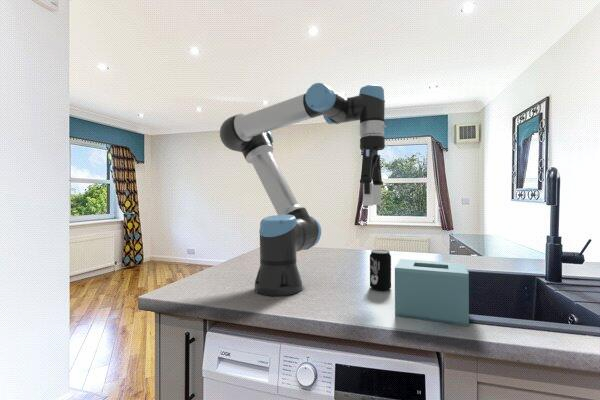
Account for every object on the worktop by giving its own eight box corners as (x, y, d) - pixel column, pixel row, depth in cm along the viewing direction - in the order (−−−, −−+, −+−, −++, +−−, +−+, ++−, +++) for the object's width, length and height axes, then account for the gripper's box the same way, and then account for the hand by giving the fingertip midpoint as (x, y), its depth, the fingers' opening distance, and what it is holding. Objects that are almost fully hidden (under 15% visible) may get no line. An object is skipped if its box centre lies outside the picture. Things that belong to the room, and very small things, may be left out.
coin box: (394, 315, 76) (394, 267, 76) (400, 300, 87) (400, 258, 87) (468, 326, 70) (468, 273, 69) (465, 308, 80) (464, 263, 80)
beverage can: (392, 292, 95) (391, 253, 95) (370, 291, 97) (370, 252, 96) (390, 286, 102) (390, 249, 102) (369, 285, 103) (369, 249, 103)
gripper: (376, 127, 84) (377, 206, 84) (390, 142, 106) (390, 204, 106) (349, 130, 87) (350, 205, 87) (368, 144, 109) (368, 204, 110)
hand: (372, 205), depth 97 cm, fingers open, 13 cm apart
